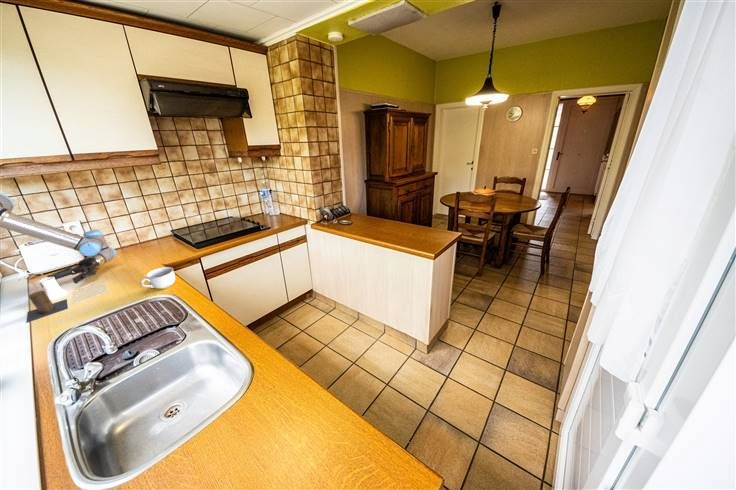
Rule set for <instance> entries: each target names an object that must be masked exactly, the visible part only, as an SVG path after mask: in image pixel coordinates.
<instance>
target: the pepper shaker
mask: <svg viewBox="0 0 736 490" xmlns="http://www.w3.org/2000/svg"><path fill="white" fill-rule="evenodd" d="M27 297H28V298H29V300H30V301H31V303H32V304H33V306H34V307H35V309H37V310H38V312H39V313H40V314H46V313H49V312H51V311H53V310H55V307H54V305H53V302H52V300H50V299H49V297H48V296H47V294H46V292H45V290H38V291H35V292H32V293H30V294H29V295H28V296H27Z"/></svg>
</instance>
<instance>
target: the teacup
mask: <svg viewBox="0 0 736 490" xmlns="http://www.w3.org/2000/svg"><path fill="white" fill-rule="evenodd" d="M176 279H177V278H176V274H175V271H174V268H173V267H171V266H162V267H158V268H155V269H152V270H150V271H149V272H147V273H146V277H145V278H142V279H141V280H140V285H141V287H144V288H150V289H153V288H154V289H157V290H164V289H168V288H170V287H171V286H172V285H173V284H174V283H175V282H176ZM145 281H147V282H148V283H149V284H144V283H145Z"/></svg>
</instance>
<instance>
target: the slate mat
mask: <svg viewBox="0 0 736 490" xmlns="http://www.w3.org/2000/svg"><path fill="white" fill-rule="evenodd" d="M52 304H53V305H54V307H55V310H53V311H51V312H49V313H46V314H40V313H39V312H38V310H37V309H36V308H35V309H31V310H29V311H27V315H26V322H25V323H26V324H28V323H31V322H34V321H37V320H39V319H42V318H45V317H48V316H51V315H54V314H57V313H59V312H60V313H61V312H63V311H66V310H68V309H69V305H68V299H67V298H66V299H65V298H64V299H62V300H60V301H57V302H52Z"/></svg>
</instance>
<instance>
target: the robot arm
mask: <svg viewBox="0 0 736 490" xmlns="http://www.w3.org/2000/svg"><path fill="white" fill-rule="evenodd" d="M14 203H15V202H14V201H13V200H12V199H11V198H10V197H9V196H8V195H6V194H4V193H1V192H0V228H1V229H5V230H8V231H11V232H15V233H18V234H21V235H24V236H28V237H31V238H35V239H38V240H41V241H44V242H47V243H51V244H55V245H58V246H61V247H64V248H68V249H71V250H74V251H78V252H79V253H80V254H81V255H83V256H84V257H85V258H83V259H81V260H79V261H78V263H77V265H75V266H73V267H72V266H68V267H67V268H63V269H61V270H59V271H56V272H54V273H51V274H48V275H46V278H48V277H55V280H56V281H57V280H59V279H63V278H65V277H69V276H74V275H76V276H74V277H73V278H72V282H73V283H74V284H78V283H79V282H81V281H83V280H84V279H86V278H88V277H90V276H95V275H97V272H98V270H99V269H100V268H101V267H102V266H104V265H105V264H107V263H109V262H110V261H112V260H113V259H115V258H116V256H117V254H118V253H117V251H116V249H115V248H113V247H111V246H109V245H108V243H107V241H106V238H105V236H104V233H103V232H102V230H100V229H92V230H88V231H85V232H83V235H79V234H77V233H73V232H70V231H67V230H64V229H61V228H58V227H55V226H52V225H49V224H46V223H43V222H40V221H38V220H35V219H31V218H28V217H26V216H22V215H19V214H16V213H13V212H12V211H13V210H14V208H15V204H14ZM77 274H78V275H77ZM39 284H40V286H41V287H42V288H44V287H43V286H42V284H41V283H40V282H39Z"/></svg>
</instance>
